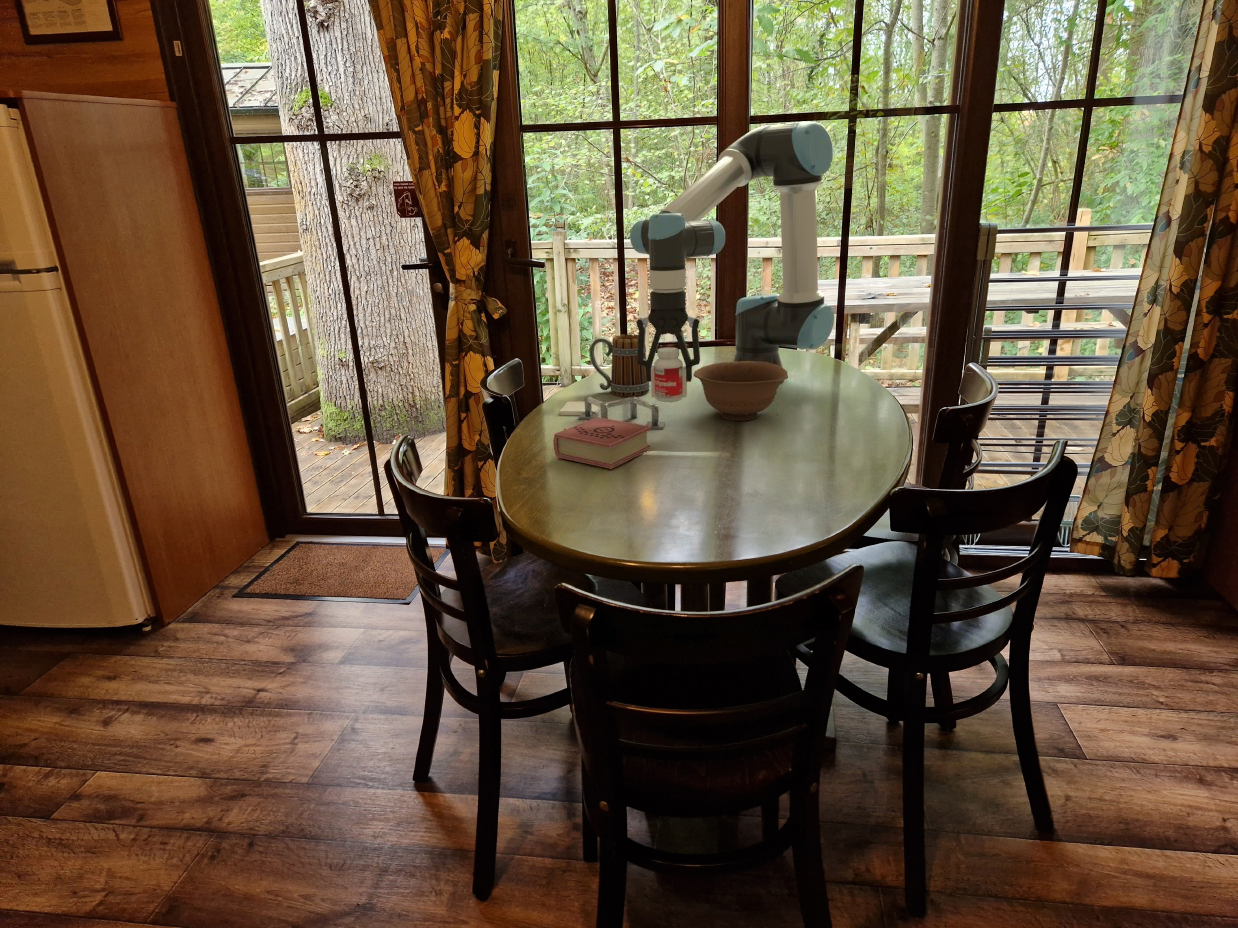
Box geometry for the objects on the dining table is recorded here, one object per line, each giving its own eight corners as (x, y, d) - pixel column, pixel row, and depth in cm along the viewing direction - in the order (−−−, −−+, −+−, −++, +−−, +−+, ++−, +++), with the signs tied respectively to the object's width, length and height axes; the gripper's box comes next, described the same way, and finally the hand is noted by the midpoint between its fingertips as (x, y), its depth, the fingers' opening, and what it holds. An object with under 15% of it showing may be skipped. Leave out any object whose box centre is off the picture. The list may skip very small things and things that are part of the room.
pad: (602, 405, 199) (602, 401, 199) (596, 415, 191) (595, 411, 190) (568, 405, 201) (567, 401, 200) (559, 415, 192) (559, 411, 192)
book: (594, 438, 175) (593, 416, 173) (651, 449, 167) (650, 426, 165) (552, 456, 164) (551, 433, 163) (611, 468, 156) (610, 444, 154)
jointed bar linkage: (667, 415, 188) (667, 395, 187) (663, 429, 178) (662, 407, 177) (582, 414, 192) (581, 394, 190) (572, 427, 182) (571, 407, 180)
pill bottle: (650, 401, 171) (649, 351, 168) (660, 394, 177) (659, 346, 173) (677, 403, 169) (676, 353, 165) (686, 396, 174) (686, 347, 171)
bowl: (804, 412, 187) (806, 367, 183) (752, 435, 172) (753, 386, 168) (728, 398, 201) (729, 356, 198) (674, 418, 186) (673, 373, 183)
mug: (650, 387, 215) (649, 333, 210) (648, 397, 206) (647, 340, 201) (594, 388, 217) (592, 334, 212) (589, 397, 207) (586, 341, 202)
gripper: (713, 286, 168) (713, 391, 176) (625, 288, 171) (628, 391, 179) (712, 291, 161) (712, 400, 169) (620, 293, 164) (624, 400, 172)
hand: (669, 395), depth 174 cm, fingers closed on pill bottle, 6 cm apart
